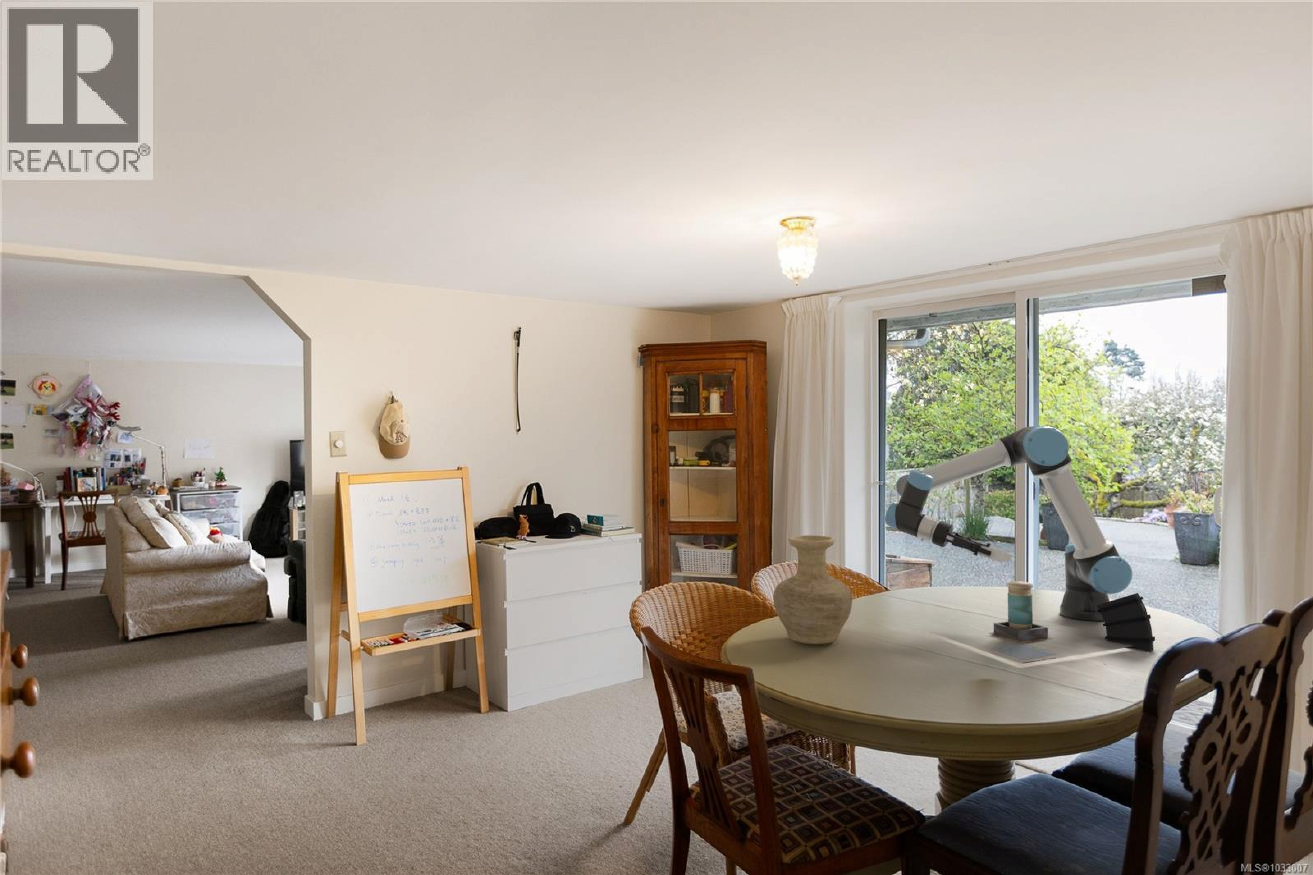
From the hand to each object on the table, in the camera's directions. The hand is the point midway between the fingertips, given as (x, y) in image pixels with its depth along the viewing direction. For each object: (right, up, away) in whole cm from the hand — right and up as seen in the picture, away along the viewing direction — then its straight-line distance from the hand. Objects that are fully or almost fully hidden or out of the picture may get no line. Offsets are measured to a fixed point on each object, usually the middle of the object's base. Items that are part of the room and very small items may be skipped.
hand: (1006, 558), depth 228 cm
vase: (-57, -24, -2) cm, 62 cm away
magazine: (+27, -22, -13) cm, 37 cm away
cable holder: (+2, -23, -4) cm, 23 cm away
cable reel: (+2, -22, -4) cm, 22 cm away
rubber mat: (-4, -23, -19) cm, 30 cm away
